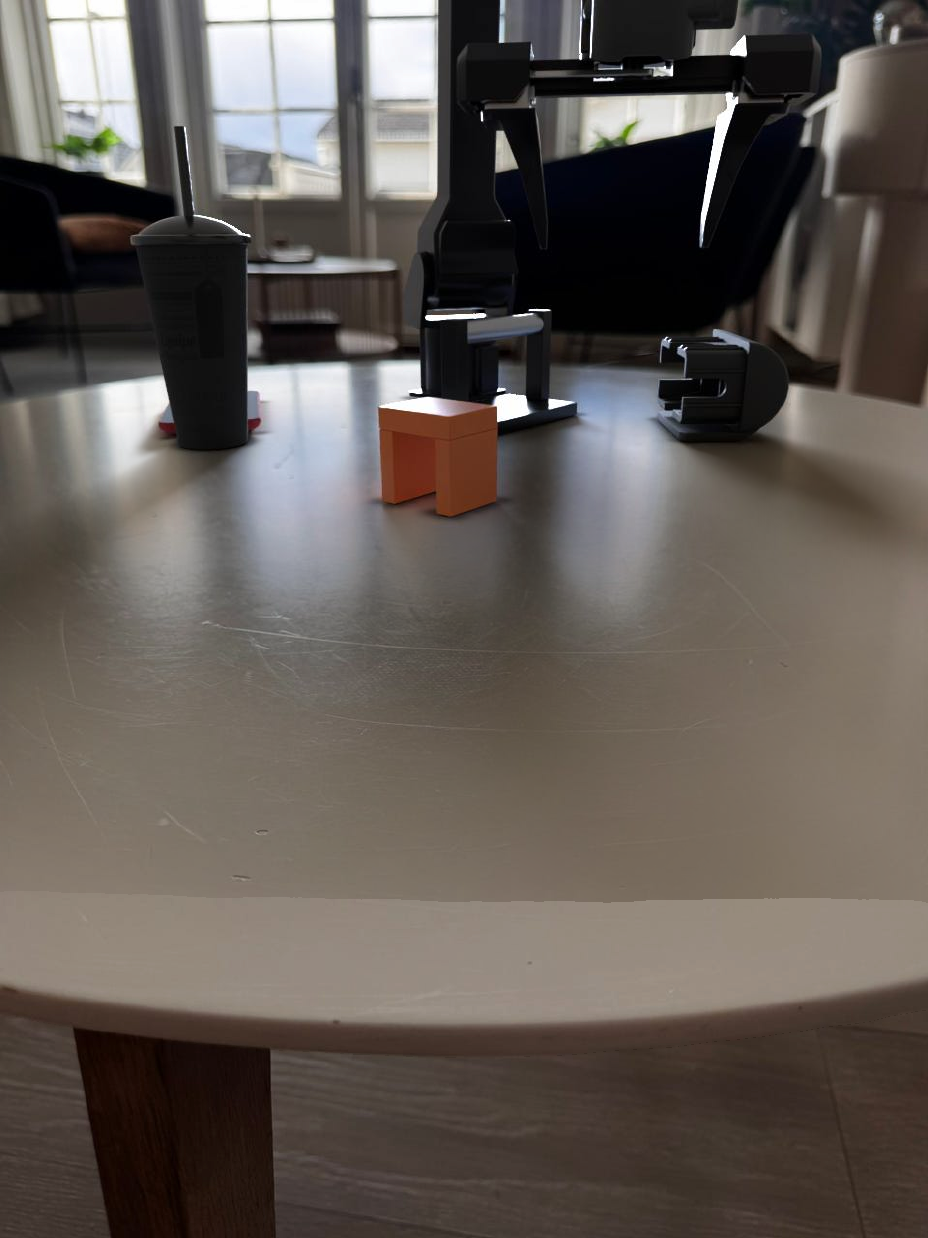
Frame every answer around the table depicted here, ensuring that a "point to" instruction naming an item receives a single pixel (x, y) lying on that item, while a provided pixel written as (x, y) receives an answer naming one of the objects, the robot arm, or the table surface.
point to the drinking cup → (199, 318)
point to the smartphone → (253, 414)
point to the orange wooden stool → (439, 452)
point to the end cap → (720, 387)
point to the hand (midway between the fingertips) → (623, 248)
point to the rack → (536, 403)
